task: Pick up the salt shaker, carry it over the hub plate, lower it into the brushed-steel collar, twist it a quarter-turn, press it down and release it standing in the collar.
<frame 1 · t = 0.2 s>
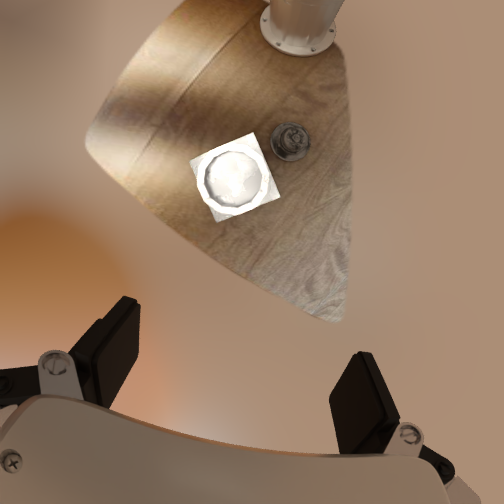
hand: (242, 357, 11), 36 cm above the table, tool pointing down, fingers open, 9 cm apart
hub plate: (235, 177, 44), on the table
salt shaker: (288, 142, 42), on the table
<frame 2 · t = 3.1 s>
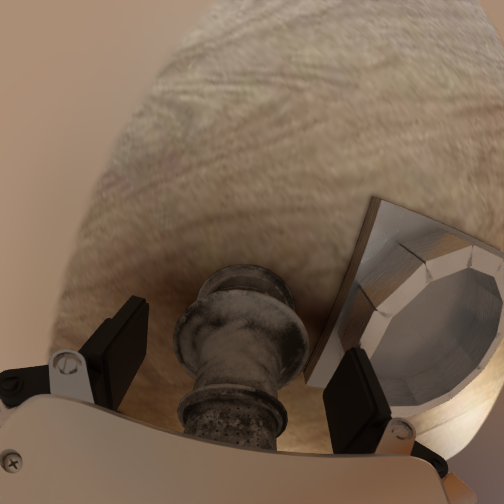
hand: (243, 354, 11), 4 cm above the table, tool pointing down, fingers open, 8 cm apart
hub plate: (416, 313, 15), on the table
salt shaker: (245, 308, 15), on the table
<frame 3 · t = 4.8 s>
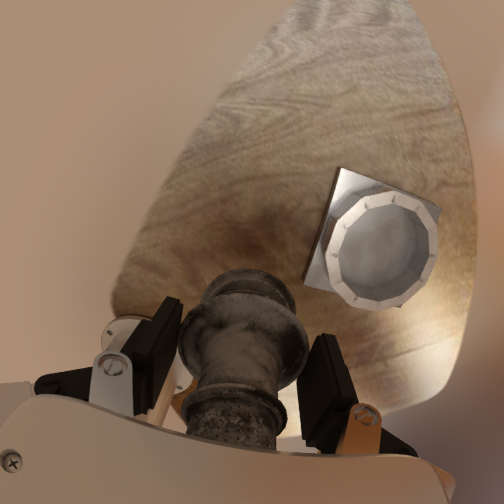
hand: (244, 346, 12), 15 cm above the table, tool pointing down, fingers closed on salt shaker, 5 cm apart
hub plate: (373, 241, 25), on the table
salt shaker: (247, 311, 15), point 11 cm above the table, touching gripper
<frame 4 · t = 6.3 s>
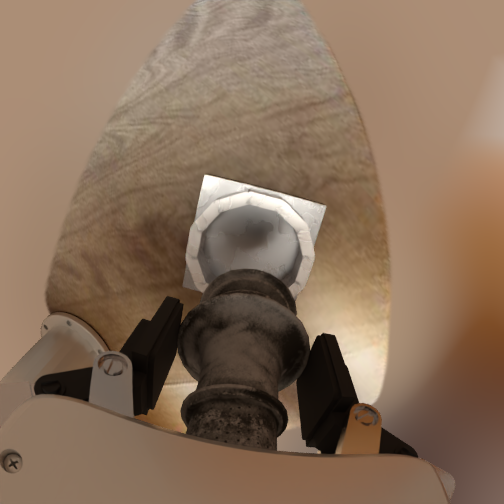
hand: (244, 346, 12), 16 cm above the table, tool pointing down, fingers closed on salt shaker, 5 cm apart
hub plate: (251, 244, 27), on the table
salt shaker: (247, 311, 15), point 12 cm above the table, touching gripper
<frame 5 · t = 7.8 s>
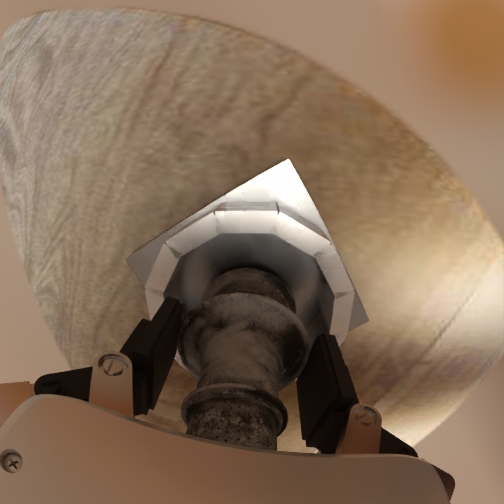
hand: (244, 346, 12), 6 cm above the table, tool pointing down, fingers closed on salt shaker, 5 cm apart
hub plate: (251, 284, 17), on the table
salt shaker: (247, 311, 15), point 2 cm above the table, touching gripper
when the fingers open (5 cm above the table, at t = 9.1 s): salt shaker stays where it is, resting on hub plate.
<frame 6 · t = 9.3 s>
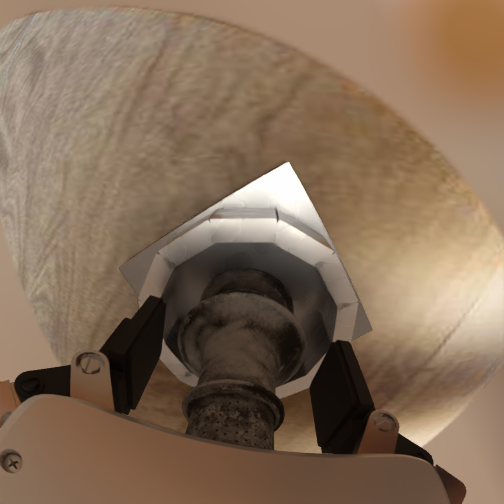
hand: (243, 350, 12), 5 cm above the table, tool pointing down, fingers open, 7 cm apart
hub plate: (249, 294, 17), on the table
salt shaker: (246, 310, 16), point 1 cm above the table, touching hub plate
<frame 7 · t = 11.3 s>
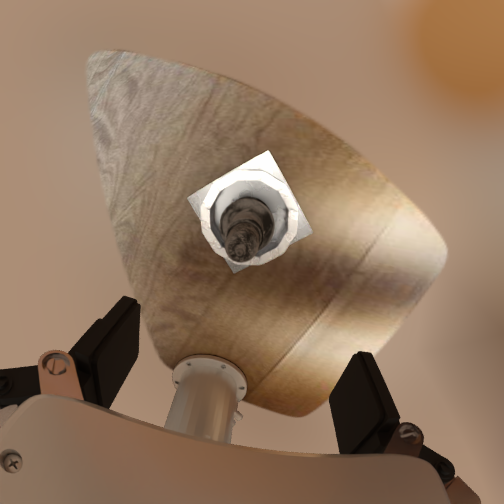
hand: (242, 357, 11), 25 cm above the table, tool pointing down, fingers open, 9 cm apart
hub plate: (250, 212, 34), on the table
salt shaker: (249, 218, 33), point 1 cm above the table, touching hub plate
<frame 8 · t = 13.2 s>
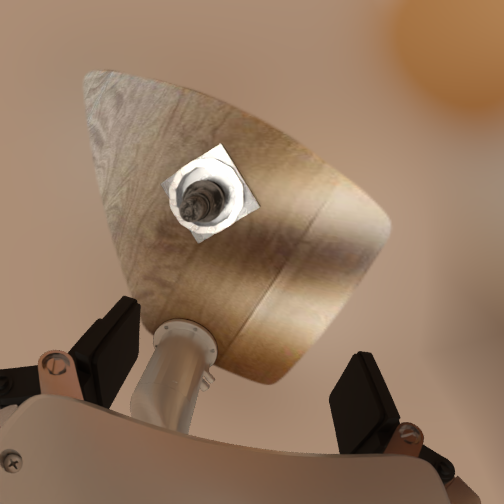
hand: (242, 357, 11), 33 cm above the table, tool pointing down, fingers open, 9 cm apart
hub plate: (210, 193, 42), on the table
salt shaker: (208, 197, 41), point 1 cm above the table, touching hub plate
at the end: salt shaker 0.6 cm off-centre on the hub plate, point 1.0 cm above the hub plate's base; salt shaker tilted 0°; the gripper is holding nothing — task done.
